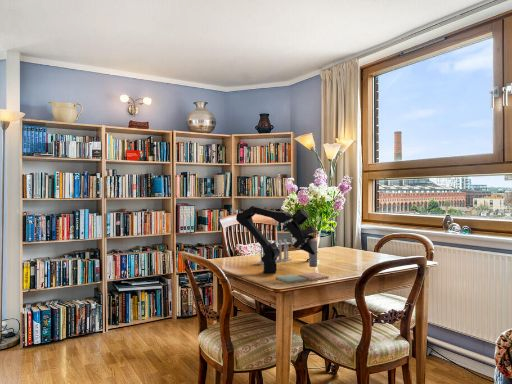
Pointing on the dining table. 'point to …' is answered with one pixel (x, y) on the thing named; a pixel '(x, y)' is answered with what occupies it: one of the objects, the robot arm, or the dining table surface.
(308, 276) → the terracotta tile
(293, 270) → the dining table surface
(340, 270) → the dining table surface
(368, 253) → the dining table surface
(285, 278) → the sage tile
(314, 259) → the tube
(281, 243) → the test tube rack
